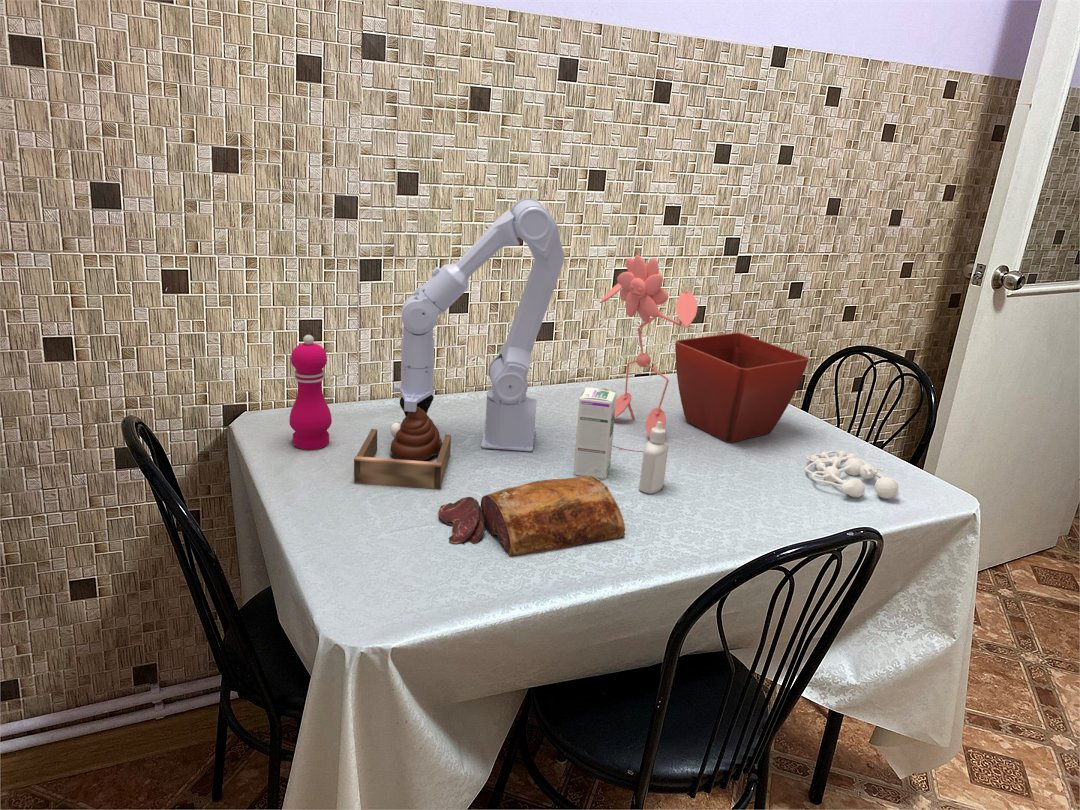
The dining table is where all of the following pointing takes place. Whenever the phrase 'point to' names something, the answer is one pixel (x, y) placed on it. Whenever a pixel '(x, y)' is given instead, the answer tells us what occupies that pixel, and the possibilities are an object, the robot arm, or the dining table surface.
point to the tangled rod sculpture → (852, 466)
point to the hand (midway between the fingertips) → (416, 434)
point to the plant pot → (736, 384)
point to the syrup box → (594, 432)
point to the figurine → (647, 319)
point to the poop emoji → (415, 437)
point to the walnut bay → (399, 467)
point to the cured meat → (538, 515)
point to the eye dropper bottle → (654, 461)
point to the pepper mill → (309, 397)
